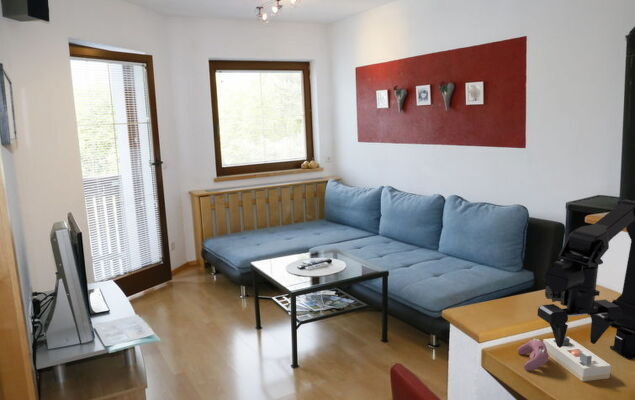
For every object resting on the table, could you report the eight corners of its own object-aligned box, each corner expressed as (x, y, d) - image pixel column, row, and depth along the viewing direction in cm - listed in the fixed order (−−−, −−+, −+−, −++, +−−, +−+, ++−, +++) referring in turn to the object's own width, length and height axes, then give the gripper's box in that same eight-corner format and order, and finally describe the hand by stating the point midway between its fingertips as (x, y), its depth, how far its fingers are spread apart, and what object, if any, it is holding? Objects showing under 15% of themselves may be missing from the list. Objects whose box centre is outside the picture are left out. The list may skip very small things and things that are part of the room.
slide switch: (583, 367, 125) (584, 351, 124) (589, 372, 123) (591, 355, 122) (578, 368, 125) (580, 351, 124) (585, 373, 123) (587, 356, 122)
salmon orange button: (577, 356, 131) (578, 349, 131) (586, 362, 128) (586, 354, 128) (567, 357, 130) (568, 350, 130) (575, 363, 127) (576, 355, 127)
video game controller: (539, 378, 126) (555, 356, 125) (522, 369, 127) (538, 347, 125) (530, 359, 136) (545, 338, 134) (515, 350, 136) (529, 330, 134)
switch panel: (566, 348, 138) (568, 336, 138) (609, 378, 123) (610, 365, 123) (542, 350, 137) (543, 339, 136) (582, 381, 122) (583, 368, 121)
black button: (563, 342, 136) (564, 335, 136) (571, 347, 133) (572, 340, 133) (554, 343, 136) (554, 336, 135) (561, 348, 133) (562, 341, 132)
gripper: (592, 270, 129) (586, 327, 132) (526, 275, 125) (521, 333, 128) (626, 285, 118) (619, 347, 121) (555, 291, 114) (549, 355, 117)
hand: (575, 345), depth 122 cm, fingers open, 9 cm apart
